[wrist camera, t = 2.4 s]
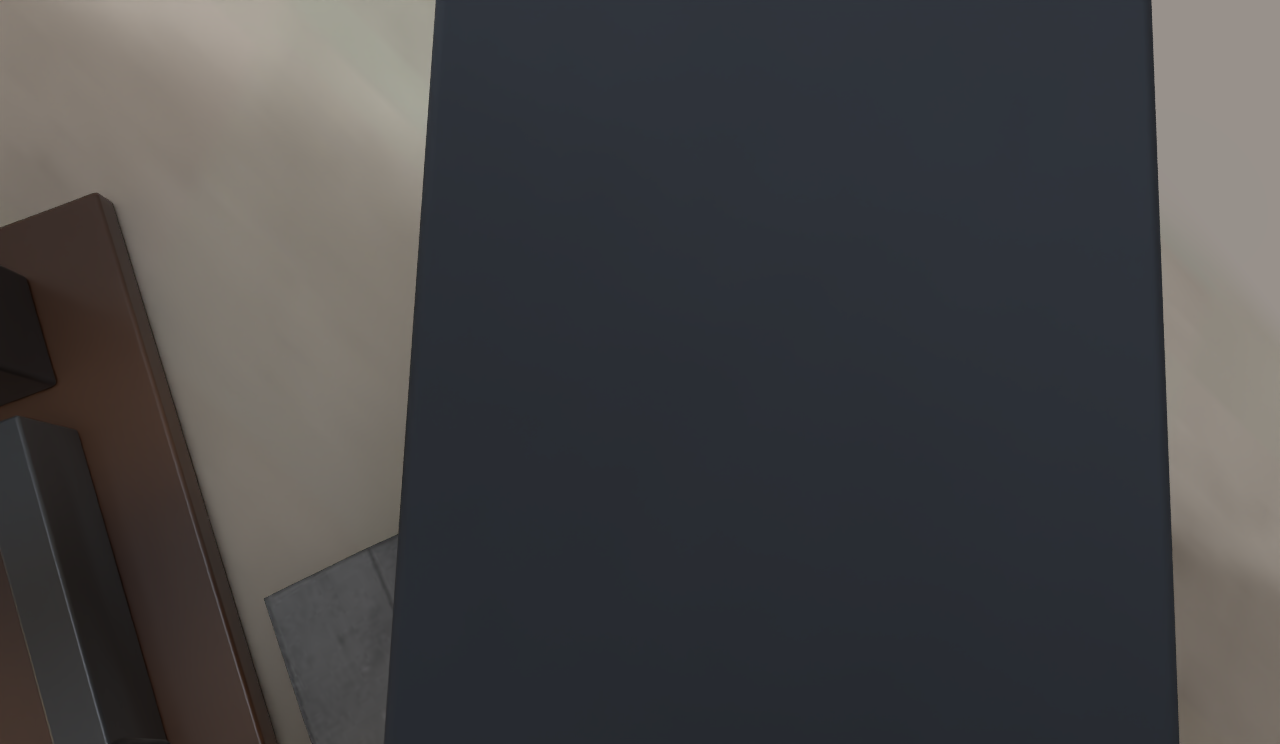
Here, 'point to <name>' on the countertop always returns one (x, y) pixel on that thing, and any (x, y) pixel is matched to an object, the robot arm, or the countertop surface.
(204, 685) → the pad mount
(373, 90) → the countertop surface
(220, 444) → the countertop surface
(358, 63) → the countertop surface
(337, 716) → the cleaver
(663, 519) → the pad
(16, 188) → the countertop surface
